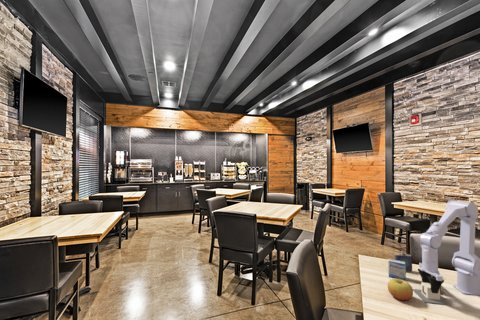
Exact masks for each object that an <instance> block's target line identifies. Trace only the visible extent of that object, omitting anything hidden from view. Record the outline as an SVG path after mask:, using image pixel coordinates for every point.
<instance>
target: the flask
mask: <svg viewBox="0 0 480 320" xmlns="http://www.w3.org/2000/svg"><path fill="white" fill-rule="evenodd" d="M393 260H398V261H403V262H405V264H406V272H409V273H410V272H413V255H411V254H408V253H404V251H403V250H401V251H400V253H393Z"/></svg>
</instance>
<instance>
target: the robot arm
mask: <svg viewBox="0 0 480 320" xmlns="http://www.w3.org/2000/svg"><path fill="white" fill-rule="evenodd" d="M457 217H458V219H460V231H459V232H460V233H459V234H460V235H459V250H458V251H456V252H454V253H453V257H452V259H451V264H452V266H453V267H454V270H455V271H456V276H457V277H456V281H457V283H456V284H452V286H453V287H454V288H455V289H457V290H458V291H460V292H461V293H462V294H464V295H472V296H480V257H479V256H478V255H477V254H475V241H476V238H475V237H476V224H477V223H476V220H478V217H479V207H478V205H477V204H476V203H475V202H472V201H471V202H468V201H461V200H454V199H450V200H448V201H447V203H446V204H445V211H444V213H443V214H442V216H441V217H440V219H439V220H438V221H435V222H433V223H432V224H431V225H430V226H429V228H428V229H427V230H426V231H425V232H423V233H420V235H419V237H418V238H417V241H418V243H419V245H420V248H421V262H419V263H418V265H419V268H417V271H418V273H419V275H420V277H421V282H422V281H423V282H424V283H430V285H431V291H432V293H437V294H438V292H439V289H440V286H441V287H442V284H443V283H444V282H445V280H444V279H443V276H442V275H441V273H440V271H439V260H438V259H439V256H438V255H439V253H438V252H439V249H438V248H440V247H441V246H442V241H443V237H444V236H445V235H446V234H447V232H448V231H449V228H448V226H449V225H450V224H451V223H452V222H453V221H454V220H456V219H457ZM431 275H432V276H433V277H431Z"/></svg>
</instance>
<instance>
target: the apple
mask: <svg viewBox="0 0 480 320" xmlns="http://www.w3.org/2000/svg"><path fill="white" fill-rule="evenodd" d="M387 289H388V290H387V291H388V292H389V294H390V295H391V296H392V297H393V298H395V299H396V300H400V301H409V300H411V299H412V298H413V296H414V295H413V294H414V291H413V289H414V288H413V287H412V285H411V284H410V283H409V282H407V281H406V280H402V279H397V278H392V279H390V280H389V281H388V282H387Z"/></svg>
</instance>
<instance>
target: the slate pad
mask: <svg viewBox="0 0 480 320" xmlns="http://www.w3.org/2000/svg"><path fill="white" fill-rule="evenodd" d="M412 289H413V293H415V294H416V295H417V296H418V297H419V298H420V299H421V300H422V301H423V302H424V303H426V304H435V305H442V306H443V305H444V306H452V304H451V303H450V302H449V301H448V300H447V299H445V298H444V297H443V295H441V294H440V300H436V299H427V298H426V297H425V296H424V295H423V294H422V293H421V289H417V288H412Z"/></svg>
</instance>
